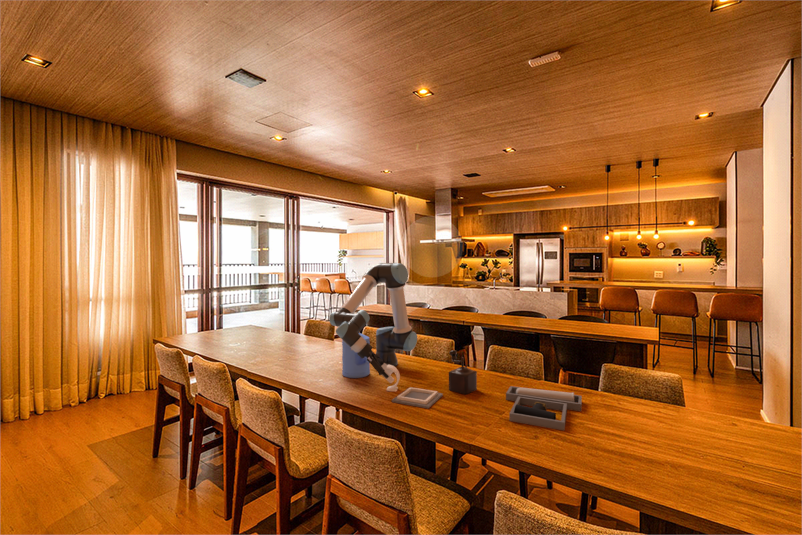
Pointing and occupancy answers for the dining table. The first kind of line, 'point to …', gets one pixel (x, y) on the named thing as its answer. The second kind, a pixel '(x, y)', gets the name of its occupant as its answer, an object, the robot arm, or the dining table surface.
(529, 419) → the connector rest frame
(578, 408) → the tube rest frame
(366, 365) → the water jug
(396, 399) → the coaster board
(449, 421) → the dining table surface
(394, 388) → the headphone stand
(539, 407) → the pipe connector
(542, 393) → the tube
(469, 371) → the pepper mill
